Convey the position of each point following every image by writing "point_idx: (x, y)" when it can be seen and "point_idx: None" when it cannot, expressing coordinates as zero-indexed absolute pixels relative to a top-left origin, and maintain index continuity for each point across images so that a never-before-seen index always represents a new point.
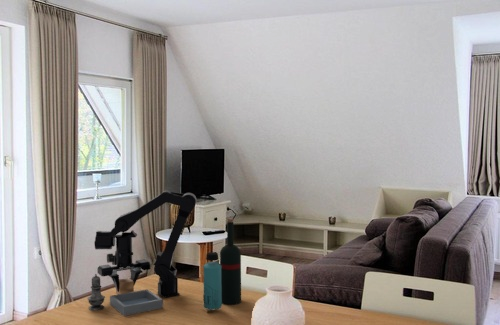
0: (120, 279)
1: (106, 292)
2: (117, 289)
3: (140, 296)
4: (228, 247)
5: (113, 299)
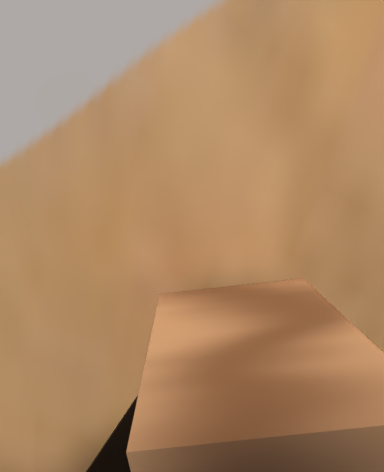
0: (233, 461)
1: (75, 160)
2: None
3: None
4: None
5: None
